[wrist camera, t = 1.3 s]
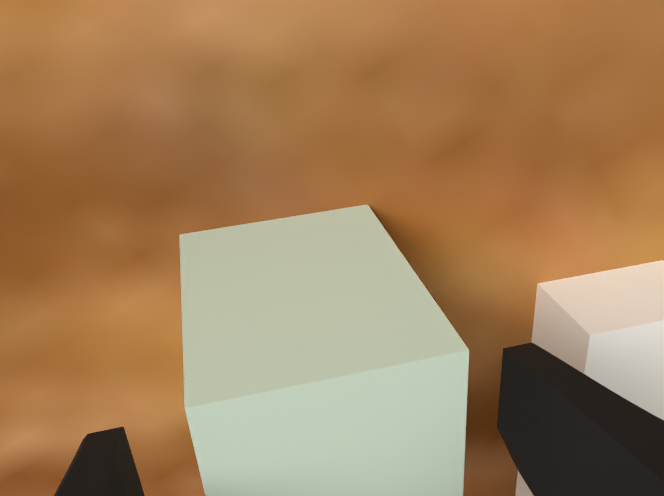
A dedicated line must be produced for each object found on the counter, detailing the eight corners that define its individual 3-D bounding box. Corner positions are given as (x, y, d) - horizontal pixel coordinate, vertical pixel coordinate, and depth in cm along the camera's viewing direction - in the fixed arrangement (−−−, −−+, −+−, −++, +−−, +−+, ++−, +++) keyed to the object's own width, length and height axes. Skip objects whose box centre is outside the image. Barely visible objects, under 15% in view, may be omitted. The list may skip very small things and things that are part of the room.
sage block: (374, 352, 17) (460, 536, 12) (210, 385, 17) (229, 595, 11) (367, 204, 15) (468, 349, 10) (179, 234, 15) (184, 408, 9)
